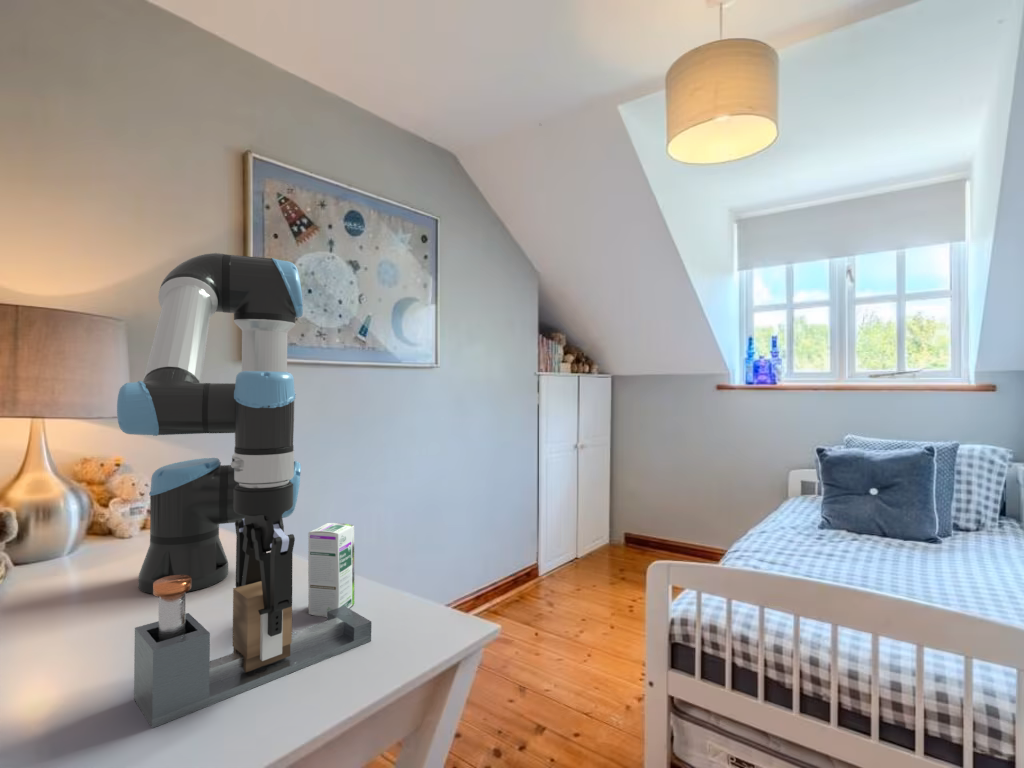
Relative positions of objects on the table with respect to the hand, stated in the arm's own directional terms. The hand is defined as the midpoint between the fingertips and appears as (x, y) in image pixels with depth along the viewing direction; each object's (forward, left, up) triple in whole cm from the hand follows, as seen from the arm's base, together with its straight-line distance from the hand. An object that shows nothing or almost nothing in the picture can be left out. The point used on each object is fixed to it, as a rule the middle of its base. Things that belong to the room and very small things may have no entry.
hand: (261, 648), depth 75 cm
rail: (0, 0, -3) cm, 3 cm away
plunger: (0, -11, +2) cm, 11 cm away
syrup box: (-10, +16, -3) cm, 20 cm away
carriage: (0, 0, -1) cm, 1 cm away
